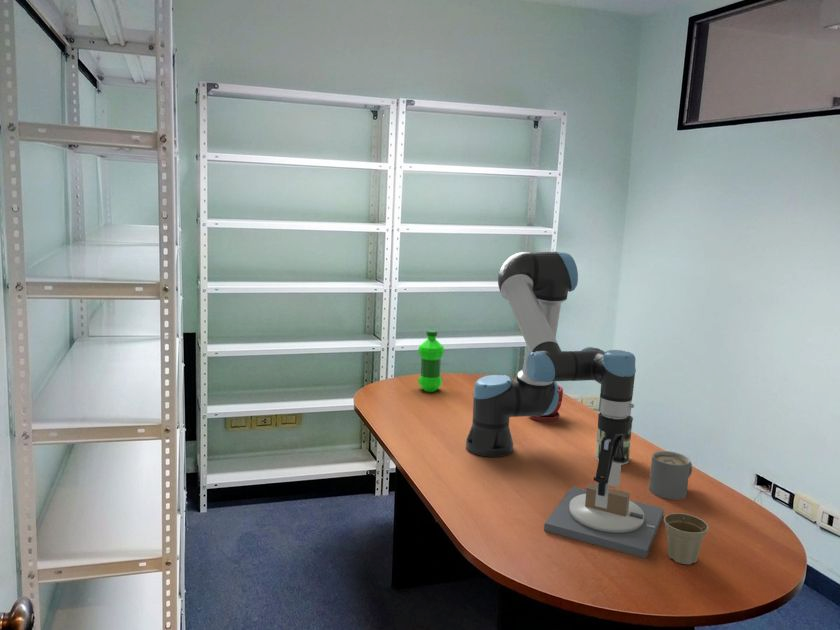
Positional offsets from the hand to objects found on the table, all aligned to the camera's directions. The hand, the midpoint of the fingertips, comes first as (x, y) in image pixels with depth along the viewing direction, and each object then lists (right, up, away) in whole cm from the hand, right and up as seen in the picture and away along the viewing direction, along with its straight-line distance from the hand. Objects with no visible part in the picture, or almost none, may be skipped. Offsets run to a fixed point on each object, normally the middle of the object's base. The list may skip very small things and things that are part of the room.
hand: (607, 496), depth 163 cm
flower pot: (+13, -10, -14) cm, 22 cm away
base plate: (0, -7, +1) cm, 7 cm away
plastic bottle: (-43, +14, +109) cm, 118 cm away
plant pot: (-1, +7, +79) cm, 80 cm away
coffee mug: (+24, -5, +21) cm, 32 cm away
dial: (0, -5, +1) cm, 5 cm away
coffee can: (+13, 0, +42) cm, 44 cm away
